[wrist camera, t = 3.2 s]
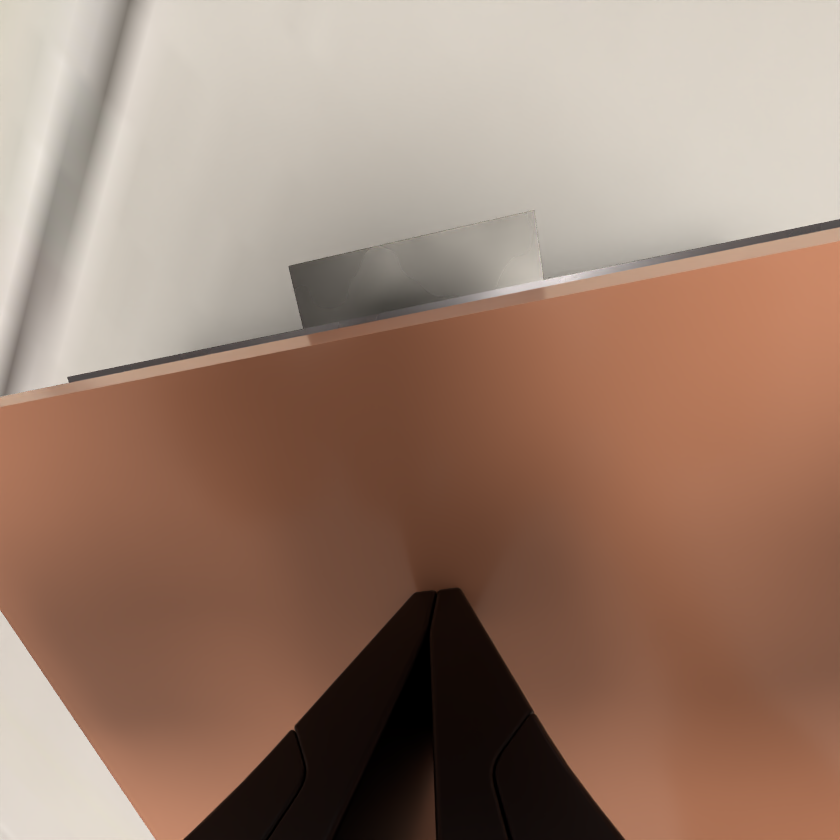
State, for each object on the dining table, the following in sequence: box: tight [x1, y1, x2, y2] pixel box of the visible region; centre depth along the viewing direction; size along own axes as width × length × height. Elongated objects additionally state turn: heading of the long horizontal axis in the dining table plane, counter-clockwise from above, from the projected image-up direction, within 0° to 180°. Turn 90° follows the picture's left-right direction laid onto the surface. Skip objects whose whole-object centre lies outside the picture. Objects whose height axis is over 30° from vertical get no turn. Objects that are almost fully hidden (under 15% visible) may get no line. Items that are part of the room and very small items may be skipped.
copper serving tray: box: [0, 227, 840, 840], centre depth 10 cm, size 16×18×1 cm
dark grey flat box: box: [67, 210, 840, 383], centre depth 14 cm, size 18×18×5 cm
